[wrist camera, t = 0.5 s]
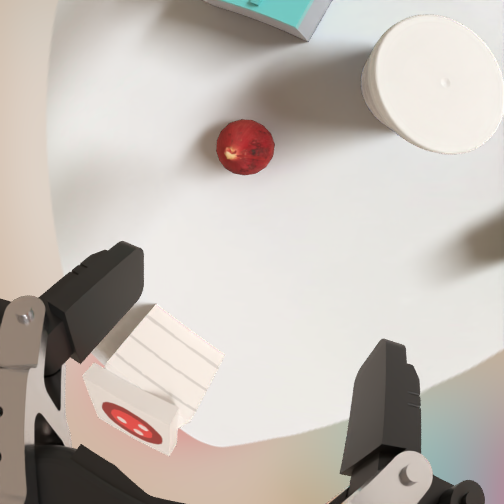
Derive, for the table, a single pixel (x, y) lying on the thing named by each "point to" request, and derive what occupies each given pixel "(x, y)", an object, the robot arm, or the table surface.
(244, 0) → the lid
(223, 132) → the red round fruit
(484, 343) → the table surface
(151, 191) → the table surface
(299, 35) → the tub
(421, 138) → the supplement tub
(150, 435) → the pizza boxes
